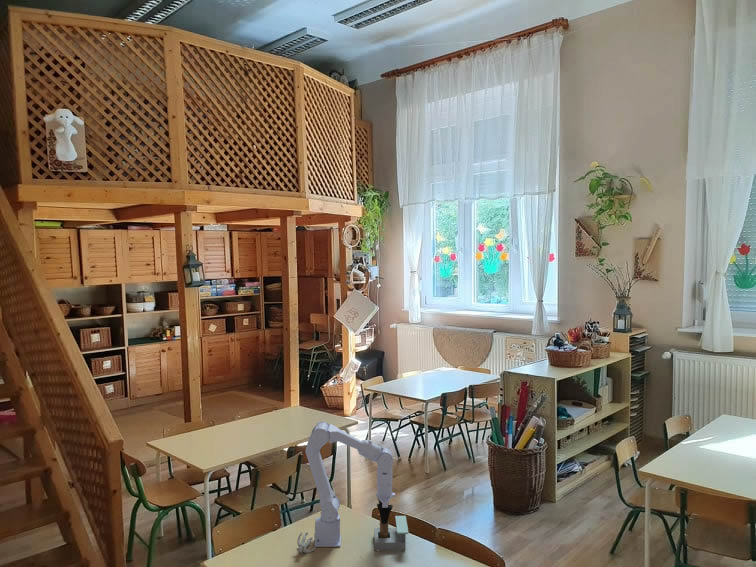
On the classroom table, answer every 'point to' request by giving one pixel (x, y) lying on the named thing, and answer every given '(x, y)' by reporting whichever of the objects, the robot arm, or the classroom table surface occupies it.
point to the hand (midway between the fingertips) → (384, 518)
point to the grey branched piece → (302, 545)
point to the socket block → (392, 536)
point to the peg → (383, 530)
